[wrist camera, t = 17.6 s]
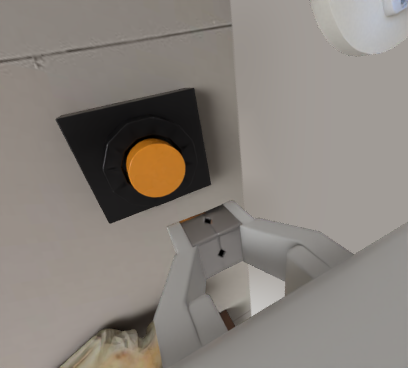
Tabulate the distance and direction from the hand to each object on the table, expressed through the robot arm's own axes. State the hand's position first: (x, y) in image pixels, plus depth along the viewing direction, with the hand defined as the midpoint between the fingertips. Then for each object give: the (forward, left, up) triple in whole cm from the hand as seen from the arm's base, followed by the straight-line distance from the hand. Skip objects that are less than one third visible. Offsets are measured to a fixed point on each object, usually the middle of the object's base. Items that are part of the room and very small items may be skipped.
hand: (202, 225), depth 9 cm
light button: (0, 0, -9) cm, 9 cm away
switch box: (0, 0, -12) cm, 12 cm away
